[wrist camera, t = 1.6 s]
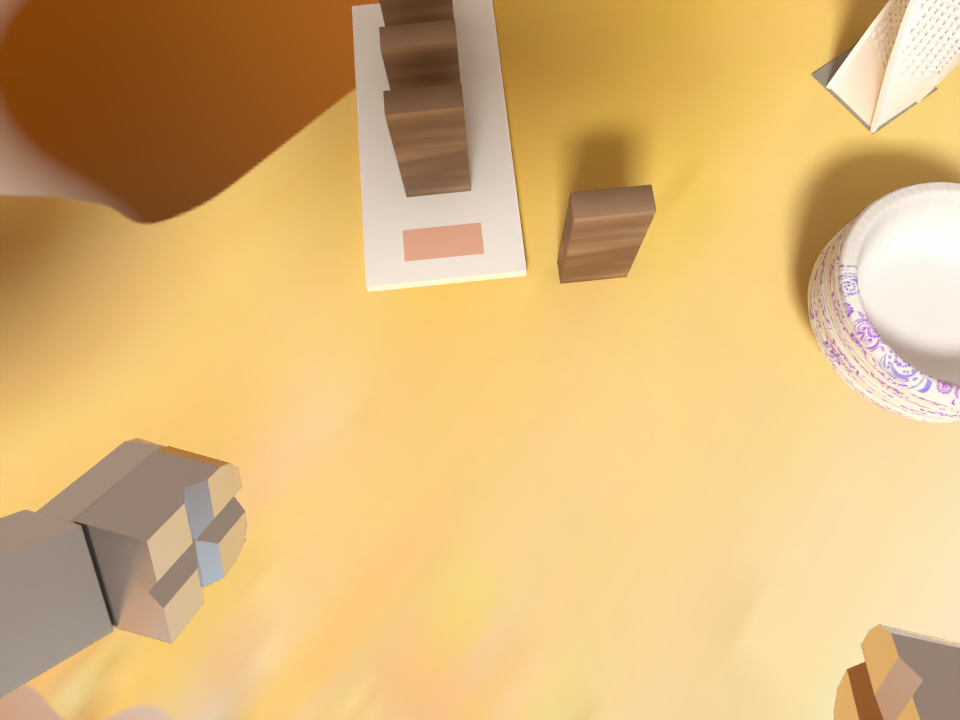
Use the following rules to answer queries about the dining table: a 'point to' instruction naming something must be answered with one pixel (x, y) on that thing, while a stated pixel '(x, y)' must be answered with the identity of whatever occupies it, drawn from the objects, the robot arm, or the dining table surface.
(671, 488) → the dining table surface
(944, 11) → the skyscraper
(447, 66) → the domino
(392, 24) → the domino
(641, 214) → the domino
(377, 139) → the board
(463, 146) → the domino
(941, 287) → the paper bowls
